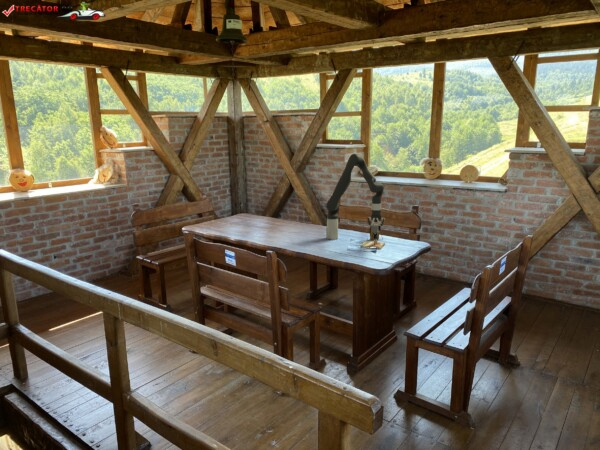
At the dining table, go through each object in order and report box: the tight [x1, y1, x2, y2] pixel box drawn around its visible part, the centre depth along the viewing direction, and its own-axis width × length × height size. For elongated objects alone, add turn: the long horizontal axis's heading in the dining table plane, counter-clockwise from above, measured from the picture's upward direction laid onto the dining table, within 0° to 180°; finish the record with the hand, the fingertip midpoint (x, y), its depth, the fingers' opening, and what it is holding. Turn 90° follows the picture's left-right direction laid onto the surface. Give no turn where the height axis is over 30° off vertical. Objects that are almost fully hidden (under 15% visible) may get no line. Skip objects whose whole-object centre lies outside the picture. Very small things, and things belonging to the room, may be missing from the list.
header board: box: [360, 239, 386, 250], centre depth 350 cm, size 16×15×5 cm
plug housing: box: [371, 222, 380, 233], centre depth 346 cm, size 5×11×5 cm, turn 157°
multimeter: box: [366, 216, 384, 242], centre depth 366 cm, size 15×10×20 cm
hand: (376, 230), depth 347 cm, fingers closed on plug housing, 4 cm apart
